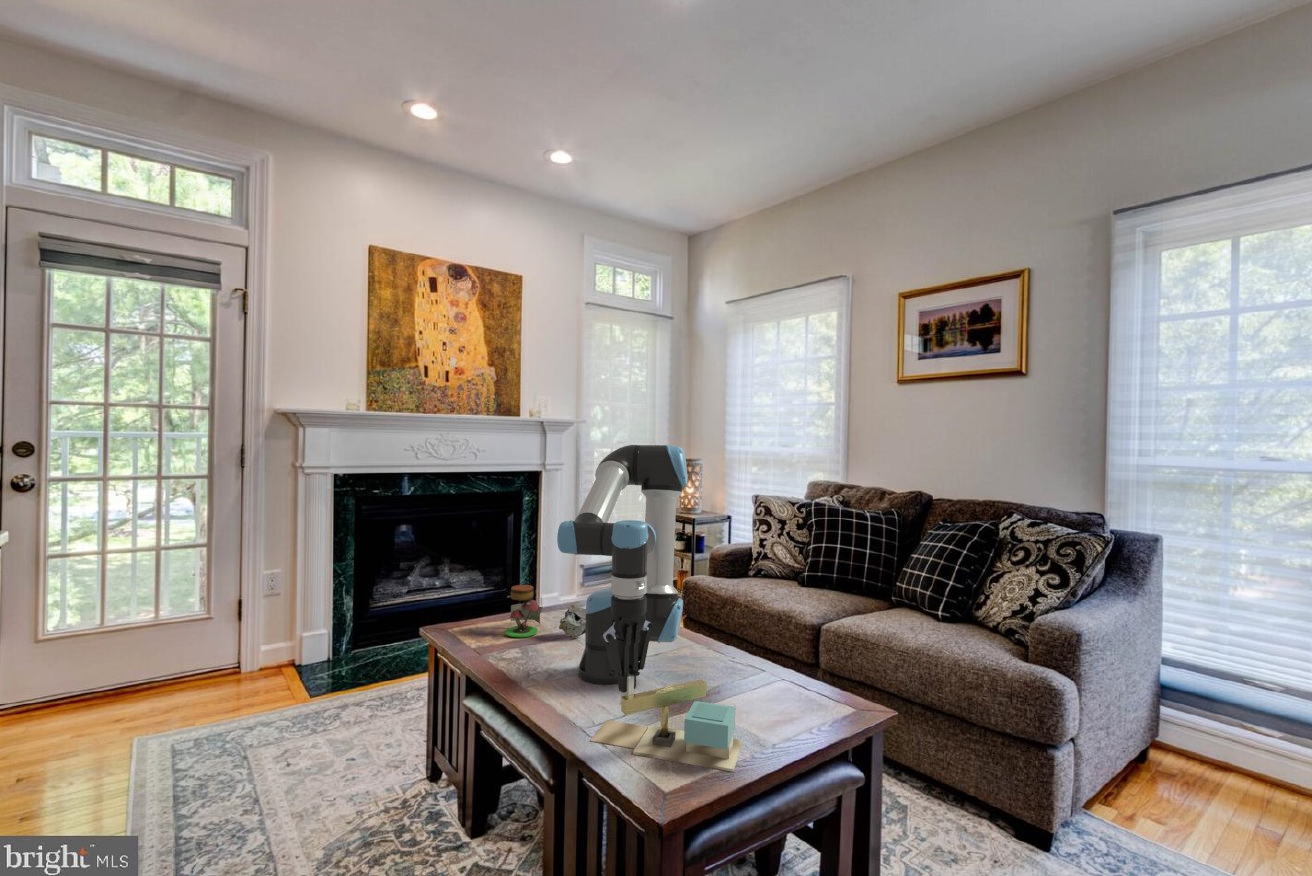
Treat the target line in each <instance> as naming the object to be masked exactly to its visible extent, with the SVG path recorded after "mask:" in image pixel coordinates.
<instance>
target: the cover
mask: <svg viewBox="0 0 1312 876" xmlns="http://www.w3.org/2000/svg"><path fill="white" fill-rule="evenodd" d="M683 726H684V730H683V731H684V742H686V743H692V744H697V745H703V746H709V747H715V748H721V749H727V750H728V747H729V744H730V741H731V739H732V736H733V737H734V733H735V730H736V706H731V705H725V704H719V703H718V704H717V703H710V702H706V701H705V702H704V701H699V700H698V701H697V700H694V701H693V703H692V704H691V707H690V708H689V711H688V712H687V714H686V716H685V718H684V725H683Z"/></svg>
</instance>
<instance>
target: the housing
mask: <svg viewBox="0 0 1312 876" xmlns="http://www.w3.org/2000/svg"><path fill="white" fill-rule="evenodd" d="M660 736H661V726H657V725H652V724H651V725H649V726H648V728H647V730H646V731H645V733H644V734H643V736H642V737H641V739H640V740H639V742H638V744H637V745H636V747H635V748H634V749H633V751H632V754H633V755H637V756H641V757H647V758H653V759H659V760H664V761H671V762H675V763H681V764H686V765H693V766H698V767H699V766H700V767H702V768H703V767H704V768H710V769H714V770H715V769H716V770H720V771H721V770H722V771H726V772H734V770H735V769H736V768H735V767H736V764H737V761H738V759H739V756H740V753H741V749H742V746H743V740H742V739H736V738H734V735H733V736H732V739H731V741H730V744H729V747H728V750H727V749H721V748H715V747H709V746H703V745H697V744H692V743H686V742H684V730H681V729H674V728H669V727H668V738H662V737H660Z"/></svg>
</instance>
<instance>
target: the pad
mask: <svg viewBox="0 0 1312 876" xmlns="http://www.w3.org/2000/svg"><path fill="white" fill-rule="evenodd" d="M648 728H649V726H646V725H641V724H636V723H635V724H634V723H629V722H628V723H627V722H622V721H616V720H610V719H606V720H605V722H604V723H603V724H602V725H601V727H599V729H598V730H597V732H596V733H595V734H594V735H593V736H592V737H591V738H590V739H589V742H591V743H592V742H593V743H598V744H603V745H608V746H615V747H620V748H625V749H631V750H634V749H635V748H636V746H637V745H638V743H639V742H640V740H641V738H642V737H643V735H644V734H645V732H646V731H647V729H648Z"/></svg>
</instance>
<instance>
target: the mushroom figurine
mask: <svg viewBox="0 0 1312 876" xmlns="http://www.w3.org/2000/svg"><path fill="white" fill-rule="evenodd" d="M510 599H511V600H513V601H514V600H515V601H526V602H525V603H515V604H512V605H510V616H509V618H510V622H516V625H515V626H511V627H508V628H506V629H505V631H504V634H505V635H506V636H507V637H511V638H527V637H531V636H534V635H536V634H537V633H538V628H537V627H536V626H533V625H529V624H528V622H527V621H528V620H529V621H530V620H531V621H532V620H533V621H535V622H537V623H538V624H539V625H540V623H541V622H540V621H541V612H542V610H543V609H544V607H542V606H539V605H538V602H537V601H536V600H534V586H533V585H530V584H529V585H528V584H518V585H517V584H516V585H513V586H511V588H510ZM521 621H522V622H521Z"/></svg>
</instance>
